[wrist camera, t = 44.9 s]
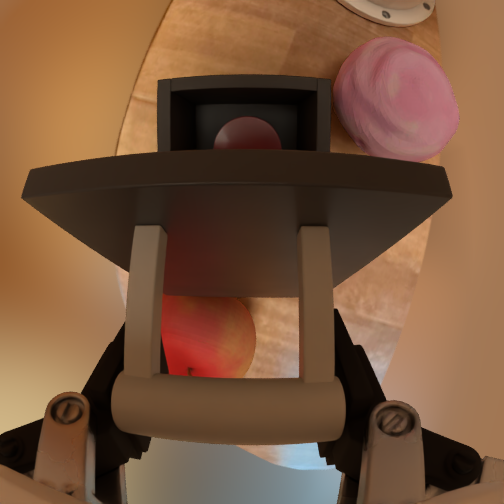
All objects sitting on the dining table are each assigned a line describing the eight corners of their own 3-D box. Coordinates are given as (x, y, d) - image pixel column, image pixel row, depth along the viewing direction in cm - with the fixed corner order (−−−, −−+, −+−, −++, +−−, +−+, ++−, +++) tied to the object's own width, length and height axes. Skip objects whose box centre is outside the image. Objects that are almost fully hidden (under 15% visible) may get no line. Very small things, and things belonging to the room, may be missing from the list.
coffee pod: (220, 120, 22) (213, 116, 17) (276, 120, 22) (282, 116, 17) (220, 174, 23) (213, 182, 19) (275, 174, 23) (280, 182, 19)
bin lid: (29, 168, 5) (0, 422, 4) (445, 165, 5) (468, 441, 4) (166, 282, 18) (163, 376, 16) (320, 284, 18) (321, 379, 16)
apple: (203, 357, 31) (189, 429, 22) (140, 297, 28) (101, 362, 19) (273, 313, 29) (281, 388, 20) (209, 241, 26) (186, 300, 17)
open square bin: (188, 97, 22) (157, 79, 14) (305, 97, 22) (331, 79, 14) (191, 241, 26) (168, 285, 18) (300, 242, 26) (319, 287, 18)
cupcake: (351, 42, 19) (402, 0, 10) (423, 106, 21) (495, 102, 12) (294, 114, 22) (322, 99, 13) (373, 177, 24) (434, 203, 15)
